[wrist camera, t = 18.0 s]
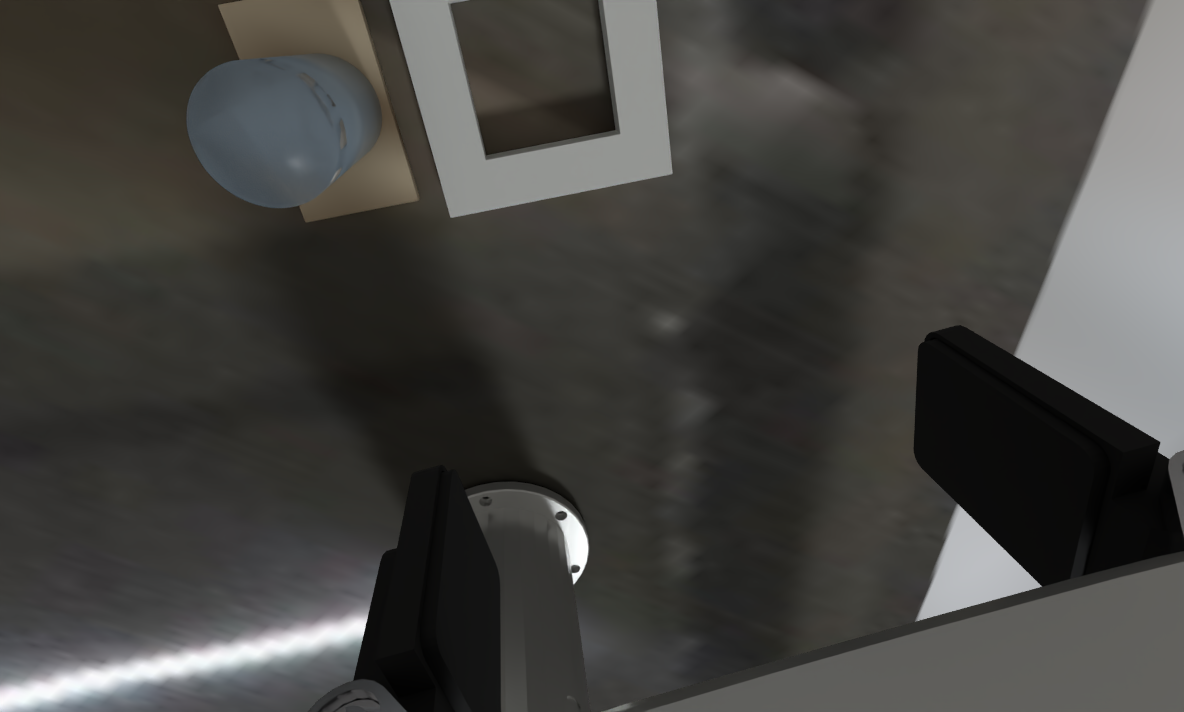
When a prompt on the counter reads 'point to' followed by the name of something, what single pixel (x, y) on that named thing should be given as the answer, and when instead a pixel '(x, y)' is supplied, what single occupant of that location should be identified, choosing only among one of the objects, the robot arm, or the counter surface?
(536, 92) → the counter surface
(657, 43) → the dock
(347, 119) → the cylinder
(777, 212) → the counter surface
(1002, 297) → the counter surface
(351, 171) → the pad
